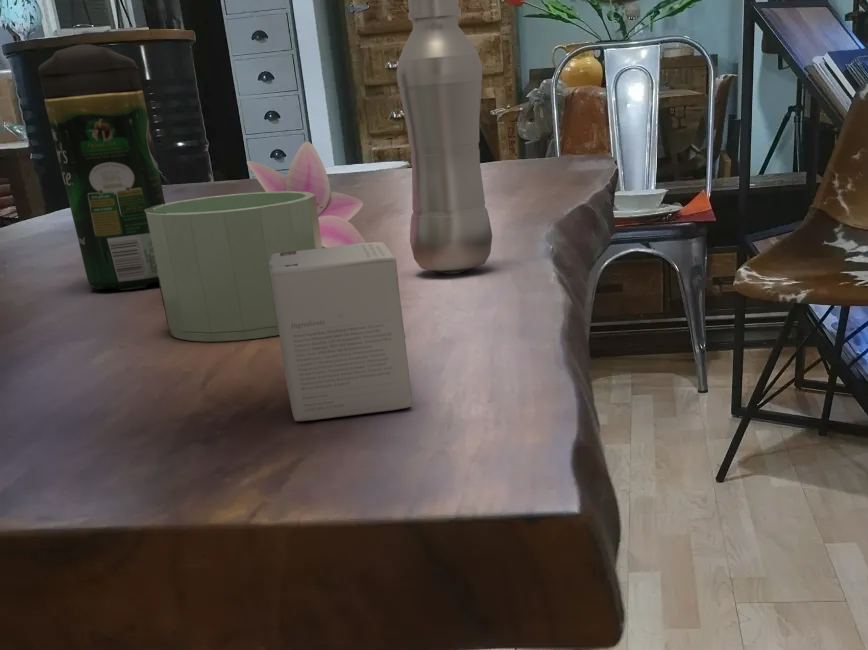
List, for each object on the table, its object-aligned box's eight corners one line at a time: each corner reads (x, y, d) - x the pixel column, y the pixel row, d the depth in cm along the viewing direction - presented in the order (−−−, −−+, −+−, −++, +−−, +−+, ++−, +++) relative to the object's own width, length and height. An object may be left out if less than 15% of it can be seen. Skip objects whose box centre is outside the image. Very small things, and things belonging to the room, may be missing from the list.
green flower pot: (147, 346, 73) (120, 218, 69) (197, 311, 83) (175, 197, 79) (312, 336, 72) (293, 206, 68) (342, 302, 82) (328, 187, 78)
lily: (232, 298, 93) (258, 191, 86) (216, 226, 100) (238, 123, 93) (367, 323, 98) (400, 224, 92) (342, 253, 105) (371, 157, 99)
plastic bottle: (424, 266, 94) (399, -5, 84) (501, 263, 92) (485, -13, 83) (403, 280, 88) (375, -8, 79) (486, 277, 87) (466, -17, 78)
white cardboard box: (414, 409, 55) (398, 255, 52) (292, 424, 54) (268, 269, 51) (400, 380, 60) (385, 239, 57) (289, 394, 60) (267, 251, 56)
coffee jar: (93, 279, 101) (40, 49, 92) (180, 269, 102) (136, 42, 94) (83, 296, 93) (24, 46, 84) (179, 286, 94) (130, 38, 85)
